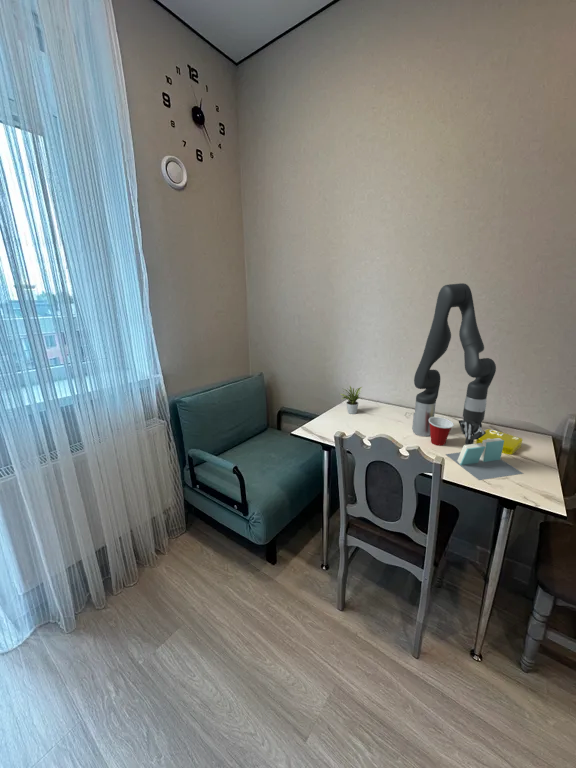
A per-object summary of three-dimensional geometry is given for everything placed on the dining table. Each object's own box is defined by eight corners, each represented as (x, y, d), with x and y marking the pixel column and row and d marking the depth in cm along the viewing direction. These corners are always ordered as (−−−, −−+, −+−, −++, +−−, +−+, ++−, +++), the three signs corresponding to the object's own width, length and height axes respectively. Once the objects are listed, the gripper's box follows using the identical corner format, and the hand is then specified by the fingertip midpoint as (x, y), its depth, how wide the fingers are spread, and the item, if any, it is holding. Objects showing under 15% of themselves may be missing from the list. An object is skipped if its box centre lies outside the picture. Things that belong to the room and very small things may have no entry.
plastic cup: (443, 452, 144) (446, 428, 140) (421, 443, 152) (423, 420, 149) (455, 445, 150) (458, 421, 147) (433, 437, 158) (436, 414, 155)
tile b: (479, 458, 137) (482, 440, 134) (495, 456, 138) (499, 437, 135) (484, 461, 134) (487, 442, 132) (500, 459, 136) (504, 440, 133)
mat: (445, 455, 141) (445, 454, 141) (484, 450, 145) (484, 448, 144) (478, 481, 123) (479, 480, 122) (523, 475, 126) (523, 473, 126)
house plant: (351, 405, 202) (352, 381, 197) (369, 411, 192) (370, 386, 187) (336, 411, 193) (336, 386, 188) (354, 418, 183) (355, 391, 178)
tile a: (457, 460, 135) (463, 445, 130) (473, 458, 136) (481, 442, 131) (460, 465, 132) (467, 449, 128) (477, 462, 134) (485, 447, 129)
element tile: (473, 445, 150) (475, 436, 148) (486, 435, 159) (488, 427, 157) (510, 458, 139) (512, 448, 137) (522, 446, 148) (524, 437, 146)
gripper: (455, 402, 133) (450, 440, 138) (478, 414, 121) (472, 455, 126) (470, 401, 134) (465, 438, 139) (495, 412, 122) (488, 452, 127)
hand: (468, 446), depth 133 cm, fingers closed
